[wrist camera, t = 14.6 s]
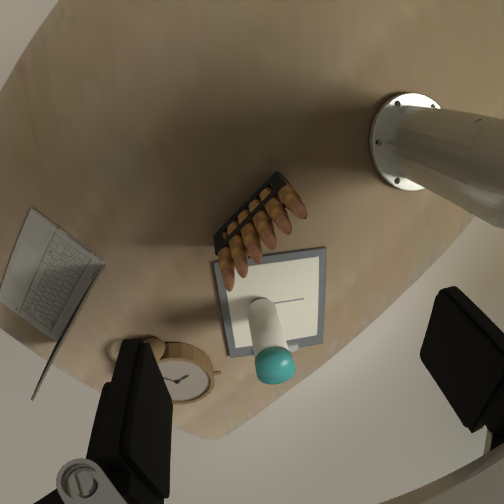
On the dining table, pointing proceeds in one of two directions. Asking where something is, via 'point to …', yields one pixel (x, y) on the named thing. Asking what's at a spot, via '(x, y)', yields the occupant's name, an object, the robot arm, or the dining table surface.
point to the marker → (269, 343)
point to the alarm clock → (184, 370)
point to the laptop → (49, 280)
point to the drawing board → (278, 298)
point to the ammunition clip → (256, 227)
